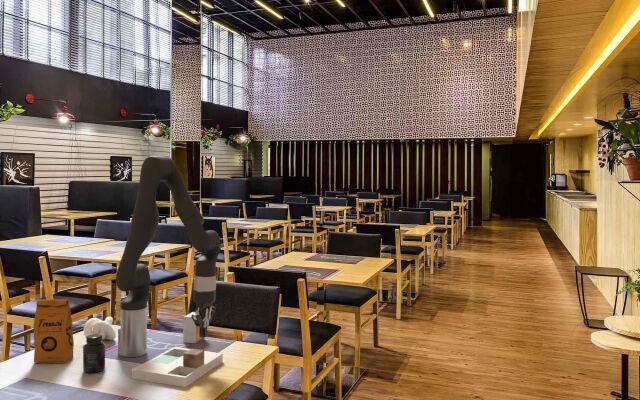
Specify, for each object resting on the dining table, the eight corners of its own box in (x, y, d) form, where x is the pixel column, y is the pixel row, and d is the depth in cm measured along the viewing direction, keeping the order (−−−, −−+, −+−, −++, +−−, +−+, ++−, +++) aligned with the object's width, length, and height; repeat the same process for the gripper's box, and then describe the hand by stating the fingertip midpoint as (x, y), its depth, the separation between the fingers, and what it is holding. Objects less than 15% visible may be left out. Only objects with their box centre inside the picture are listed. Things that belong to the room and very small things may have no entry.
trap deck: (131, 378, 164) (132, 369, 164) (174, 355, 187) (174, 347, 187) (185, 387, 158) (185, 377, 158) (222, 361, 181) (222, 353, 181)
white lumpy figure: (124, 339, 205) (124, 317, 205) (100, 347, 194) (100, 324, 194) (104, 335, 210) (104, 313, 209) (79, 343, 199) (79, 320, 199)
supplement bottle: (109, 369, 172) (109, 334, 172) (94, 376, 166) (94, 339, 165) (93, 366, 175) (93, 331, 174) (78, 373, 168) (78, 337, 168)
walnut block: (183, 366, 168) (183, 353, 167) (191, 361, 172) (191, 348, 172) (196, 368, 166) (196, 355, 166) (204, 363, 171) (204, 350, 171)
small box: (195, 343, 201) (195, 317, 200) (182, 342, 202) (182, 316, 202) (204, 337, 209) (204, 312, 208) (191, 336, 210) (191, 311, 209)
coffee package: (66, 365, 175) (66, 302, 174) (29, 365, 174) (29, 302, 173) (78, 355, 184) (78, 296, 184) (43, 355, 184) (43, 296, 183)
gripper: (205, 283, 183) (203, 330, 184) (184, 290, 170) (183, 341, 171) (223, 285, 181) (221, 333, 181) (204, 293, 168) (202, 344, 169)
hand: (203, 337), depth 176 cm, fingers closed
